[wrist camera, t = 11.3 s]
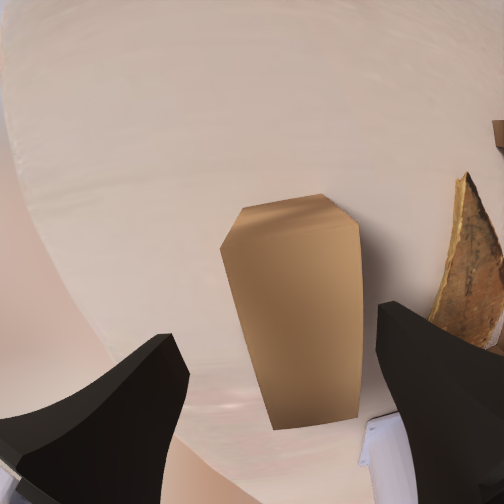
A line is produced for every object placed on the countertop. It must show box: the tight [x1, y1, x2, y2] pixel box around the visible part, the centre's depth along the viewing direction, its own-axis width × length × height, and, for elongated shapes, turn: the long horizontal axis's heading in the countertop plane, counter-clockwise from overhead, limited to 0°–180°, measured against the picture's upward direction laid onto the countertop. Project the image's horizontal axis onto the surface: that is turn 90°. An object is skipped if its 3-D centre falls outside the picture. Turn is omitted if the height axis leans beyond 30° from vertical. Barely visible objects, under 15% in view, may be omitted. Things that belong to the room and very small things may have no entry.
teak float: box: [220, 194, 363, 430], centre depth 10 cm, size 4×8×6 cm, turn 12°
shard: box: [427, 172, 504, 349], centre depth 11 cm, size 11×8×2 cm
